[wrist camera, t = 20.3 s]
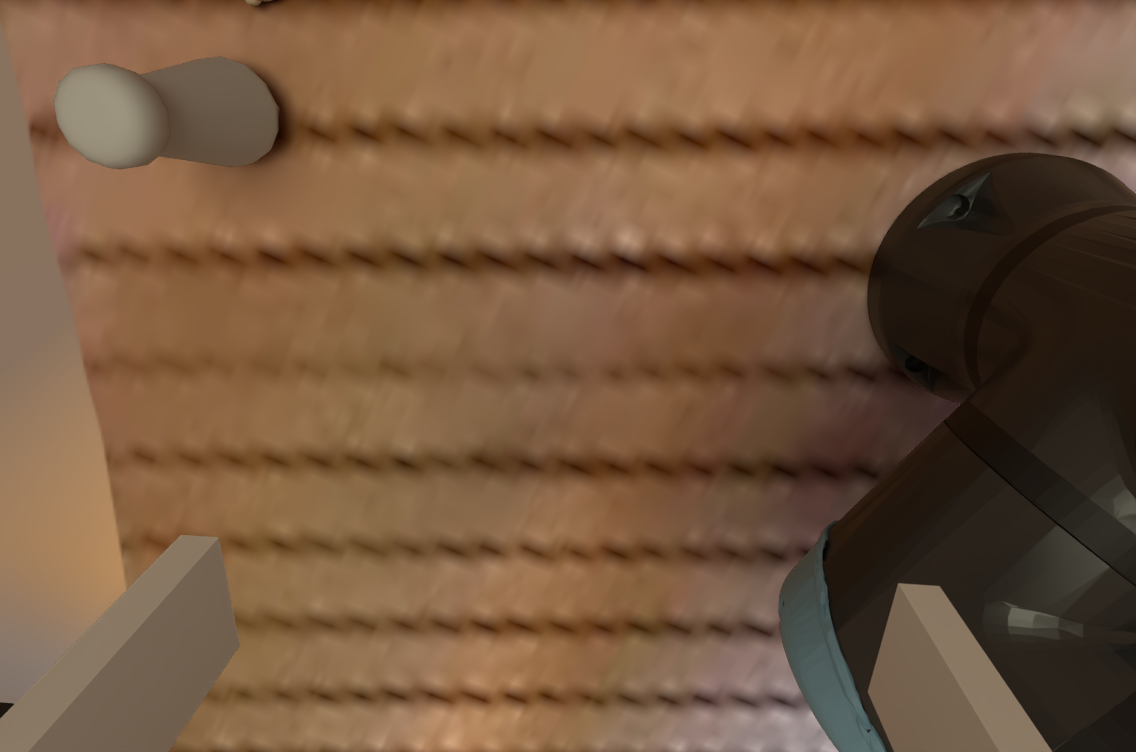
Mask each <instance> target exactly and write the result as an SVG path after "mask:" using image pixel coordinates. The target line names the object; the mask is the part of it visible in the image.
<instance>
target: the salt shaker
mask: <svg viewBox="0 0 1136 752" xmlns="http://www.w3.org/2000/svg"><path fill="white" fill-rule="evenodd" d="M53 102H54V107H55V112H56V117H57V122H58V125H59V127H60V129H61V131H62V132H63V134H64V136H65V137H66V139H67V141H68V142H69V144H70V146H71V147H73V148H74V149H75V150H76V151H78V152H79V153H80V154H81V155H82V156H84V157H85V158H86V159H87V160H89V161H91V162H94V163H97V164H99V165H102V166H105V167H108V168H113V169H126V168H133V167H139V166H144V165H148V164H150V163H151V162H152V161H153V160H155V159H156V158H157V157H158V156H161V157H167V158H174V159H181V160H187V161H194V162H200V163H207V164H214V165H220V166H227V167H234V166H241V165H248V164H252V163H254V162H256V161H257V160H258V159H260V158H261V157H262V156H264V155H265V154H266V153H268V152H269V151H270V150H271V149H272V146H273V143H274V141H275V138H276V136H277V133H278V130H279V128H278V115H279V109H280V108H279V107H278V105H277V104H276V102H275V100H274V98H273V96H272V94H271V92H270V91H269V89H268V87H267V85H266V83H265V82H264V81H263V80H262V79H261V78H260V77H259V76H257V75H256V74H255V73H254V72H253V71H252V70H251V69H250V68H249V67H248V66H246V65H244V64H241V63H238V62H235V61H232V60H229V59H226V58H223V57H212V58H204V59H197V60H193V61H190V62H186V63H182V64H179V65H175V66H171V67H167V68H164V69H160V70H156V71H152V72H149V73H145V74H141V75H139V74H138V73H136V72H133V71H130V70H127V69H124V68H121V67H118V66H115V65H111V64H105V63H103V64H95V65H88V66H82V67H77V68H73V69H72V70H71V71H70V72H69V73H68V74H67V75H66V76H65V77H64V78H62V79H61V80H60V81H59V84H58V87H57V91H56V94H55V98H54V101H53Z"/></svg>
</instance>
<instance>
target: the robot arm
mask: <svg viewBox="0 0 1136 752" xmlns="http://www.w3.org/2000/svg"><path fill="white" fill-rule="evenodd" d="M868 309H869V316H870V321H871V325H872V329H873V332H874V334H875V337H876V339H877V341H878V343H879V345H880V347H881V348H882V350H883V351H884V353H885V354H886V356H887V357H888V358H889V359H890V361H891V362H892V363H893V364H894V365H895V366H896V367H897V368H898V369H900V370H901V371H902V372H903V373H904V374H905V375H906V376H907V377H908V378H910V379H911V380H912V381H913V382H914V383H916V384H917V385H918V386H920V387H921V388H923V389H925V390H926V391H928V392H930V393H932V394H934V395H936V396H938V397H941V398H943V399H946V400H949V401H952V402H956V403H960V404H961V405H960V406H959V407H958V408H957V409H956V410H955V411H954V412H953V413H952V414H951V415H950V416H949V417H948V418H947V419H945V420H944V421H943V422H942V423H941V424H939V425H938V426H937V427H936V428H935V429H934V430H933V431H932V432H931V433H930V434H929V435H928V436H927V437H926V438H925V439H924V440H923V441H922V442H921V443H920V444H919V445H918V446H917V447H916V448H914V449H913V450H912V451H911V452H910V453H909V454H908V455H907V456H906V457H905V458H904V459H903V460H902V461H901V462H900V463H899V464H898V465H897V466H896V467H895V468H894V469H893V470H892V471H891V472H889V473H888V474H887V475H886V476H885V477H884V478H883V479H882V480H881V481H880V482H879V483H878V484H877V485H876V486H875V487H874V488H873V489H872V490H871V491H870V492H869V493H868V494H867V495H865V496H864V497H863V498H862V499H861V500H860V501H859V502H858V503H857V504H856V505H855V506H854V507H853V508H852V509H851V510H850V511H849V512H848V513H847V514H846V515H845V516H844V517H843V518H842V519H840V520H839V521H833V522H832V523H831V524H829V525H828V526H827V527H826V528H825V529H824V531H823V532H822V533H821V536H820V538H819V540H818V542H817V543H816V544H815V545H814V546H813V548H812V549H811V550H810V551H809V552H808V553H807V554H806V555H805V556H804V557H803V558H802V560H801V561H800V562H799V563H798V564H797V565H796V566H795V567H794V568H793V569H792V570H791V571H790V573H789V574H788V576H787V577H786V579H785V581H784V583H783V585H782V588H781V591H780V595H779V610H778V612H779V617H780V622H779V628H780V634H781V639H782V643H783V647H784V650H785V653H786V656H787V659H788V662H789V665H790V667H791V670H792V672H793V675H794V677H795V679H796V682H797V684H798V686H799V688H800V690H801V692H802V694H803V696H804V698H805V699H806V701H807V703H808V705H809V707H810V708H811V710H812V712H813V714H814V715H815V717H816V719H817V721H818V722H819V724H820V725H821V727H822V728H823V730H824V731H825V733H826V734H827V736H828V737H829V739H830V740H831V742H832V743H833V744H834V746H835V747H836V748H837V750H838V751H839V752H1136V194H1135V193H1134V192H1133V191H1132V190H1131V189H1129V188H1128V187H1127V186H1126V185H1125V184H1124V183H1123V182H1121V181H1120V180H1119V179H1118V178H1116V177H1115V176H1113V175H1112V174H1110V173H1109V172H1107V171H1105V170H1103V169H1101V168H1099V167H1097V166H1095V165H1092V164H1090V163H1087V162H1084V161H1081V160H1078V159H1074V158H1069V157H1063V156H1056V155H1048V154H1039V153H1012V154H1005V155H999V156H994V157H990V158H986V159H983V160H979V161H977V162H974V163H971V164H969V165H966V166H964V167H962V168H960V169H958V170H956V171H954V172H952V173H950V174H948V175H947V176H945V177H943V178H942V179H940V180H939V181H937V182H936V183H934V184H933V185H931V186H930V187H929V188H928V189H926V190H925V191H924V192H923V193H921V194H920V195H919V196H918V197H917V198H916V199H915V200H914V201H913V202H912V203H911V204H910V205H909V206H908V207H907V208H906V209H905V210H904V211H903V212H902V214H901V215H900V216H899V217H898V219H897V220H896V221H895V223H894V224H893V226H892V227H891V229H890V230H889V232H888V233H887V235H886V237H885V238H884V240H883V242H882V244H881V246H880V248H879V251H878V253H877V256H876V258H875V261H874V264H873V268H872V272H871V276H870V281H869V289H868ZM239 646H240V644H239V639H238V634H237V628H236V623H235V618H234V613H233V608H232V602H231V597H230V592H229V587H228V582H227V576H226V571H225V566H224V561H223V556H222V551H221V545H220V540H219V537H204V536H189V535H180V536H179V537H178V538H177V539H176V540H175V541H174V542H173V543H172V545H171V546H170V547H169V548H168V549H167V550H166V551H165V552H164V553H163V554H162V555H161V556H160V557H159V558H158V559H157V560H156V561H155V562H154V563H153V564H152V565H151V566H150V567H149V568H148V569H147V570H146V571H145V572H144V573H143V574H142V575H141V576H140V577H139V578H138V579H137V580H136V581H135V582H134V583H133V584H132V585H131V586H130V587H129V588H128V589H127V590H126V591H125V592H124V594H122V596H120V597H119V598H118V600H117V601H116V602H115V603H113V605H112V606H111V607H110V608H109V609H108V610H107V611H106V612H105V613H104V614H103V615H102V616H101V617H100V618H99V619H98V620H97V621H96V622H95V623H94V624H93V625H92V626H91V627H90V628H89V629H88V630H87V631H86V632H85V633H84V634H83V635H82V636H81V637H80V638H79V639H78V640H77V641H76V642H75V643H74V644H73V646H71V647H70V648H69V649H68V650H67V651H66V652H65V653H64V654H63V655H62V656H61V657H60V658H59V660H58V661H57V662H55V664H54V665H52V667H51V668H50V669H49V670H48V671H47V672H46V673H45V674H44V675H43V676H42V677H41V678H40V679H39V680H38V681H37V682H36V683H35V684H34V685H33V686H32V687H31V688H30V689H29V690H28V691H27V692H26V693H25V694H24V695H23V696H22V697H21V698H20V699H19V700H18V701H17V702H16V703H15V704H12V703H0V752H168V751H169V750H170V748H171V747H172V745H173V744H174V742H175V741H176V739H177V738H178V736H179V735H180V733H181V732H182V730H183V729H184V727H185V726H186V725H187V723H188V722H189V720H190V719H191V717H192V716H193V714H194V713H195V711H196V710H197V708H198V707H199V705H200V704H201V702H202V701H203V699H204V698H205V696H206V695H207V693H208V692H209V690H210V689H211V688H212V686H213V685H214V683H215V682H216V680H217V679H218V677H219V676H220V674H221V673H222V671H223V670H224V668H225V667H226V665H227V664H228V662H229V661H230V659H231V658H232V656H233V655H234V653H235V652H236V651H237V649H238V648H239Z"/></svg>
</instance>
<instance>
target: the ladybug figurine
mask: <svg viewBox="0 0 1136 752" xmlns="http://www.w3.org/2000/svg"><path fill="white" fill-rule="evenodd" d="M245 1H246V3H248V4H249V5H254V6H258V5H259V4H260V3H261V2H262V1H264V2H266V1H272V0H245Z"/></svg>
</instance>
